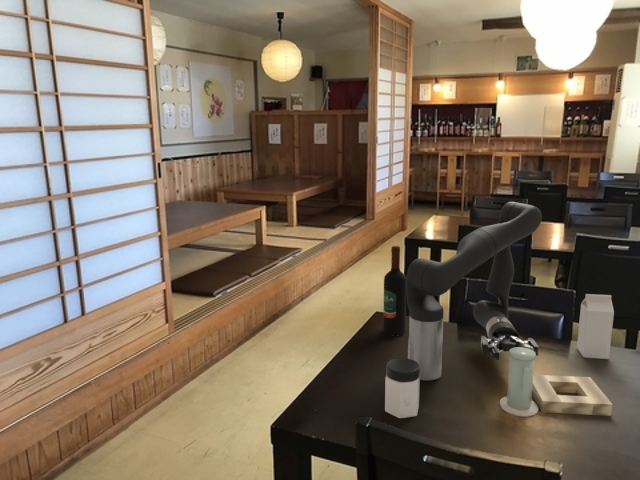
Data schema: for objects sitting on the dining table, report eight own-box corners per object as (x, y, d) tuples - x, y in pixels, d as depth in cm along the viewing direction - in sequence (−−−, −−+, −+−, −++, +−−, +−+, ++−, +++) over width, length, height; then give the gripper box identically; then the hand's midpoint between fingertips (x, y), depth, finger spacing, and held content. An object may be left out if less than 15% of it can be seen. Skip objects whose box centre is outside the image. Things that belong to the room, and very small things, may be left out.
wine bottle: (406, 336, 173) (409, 249, 167) (384, 336, 174) (385, 249, 167) (403, 327, 181) (405, 244, 174) (382, 327, 181) (383, 244, 175)
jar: (390, 420, 124) (391, 374, 121) (379, 403, 131) (380, 359, 129) (425, 415, 126) (427, 370, 123) (412, 399, 133) (413, 355, 131)
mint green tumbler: (510, 413, 125) (514, 360, 122) (503, 397, 132) (506, 346, 129) (536, 415, 124) (541, 361, 121) (527, 398, 132) (531, 347, 129)
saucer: (504, 415, 125) (504, 413, 125) (496, 396, 134) (496, 394, 134) (542, 417, 124) (543, 415, 124) (532, 398, 133) (532, 396, 133)
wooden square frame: (542, 412, 126) (542, 401, 126) (526, 384, 140) (527, 374, 139) (611, 415, 124) (612, 404, 124) (588, 387, 138) (590, 377, 137)
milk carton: (608, 359, 154) (615, 299, 150) (583, 357, 156) (589, 297, 152) (601, 349, 161) (607, 291, 157) (576, 348, 162) (582, 290, 158)
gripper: (476, 319, 149) (487, 342, 133) (528, 321, 147) (545, 345, 131) (475, 344, 150) (485, 369, 135) (526, 346, 148) (542, 372, 133)
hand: (515, 357), depth 133 cm, fingers open, 8 cm apart
